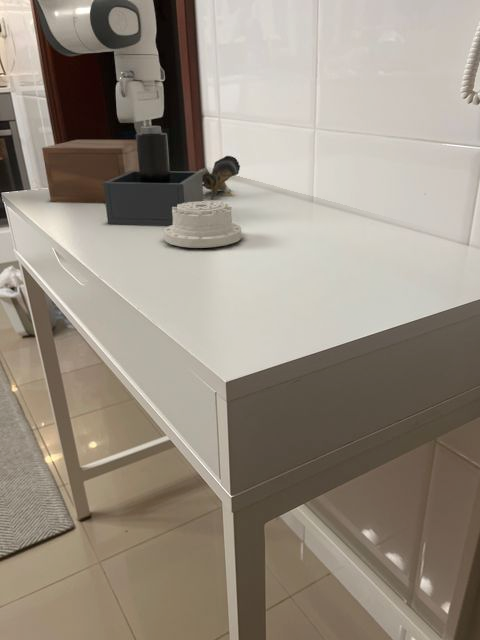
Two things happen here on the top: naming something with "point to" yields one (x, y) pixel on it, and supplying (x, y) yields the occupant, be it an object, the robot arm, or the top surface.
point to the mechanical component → (202, 225)
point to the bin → (149, 197)
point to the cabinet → (87, 167)
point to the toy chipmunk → (220, 175)
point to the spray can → (153, 155)
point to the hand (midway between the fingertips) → (144, 143)
